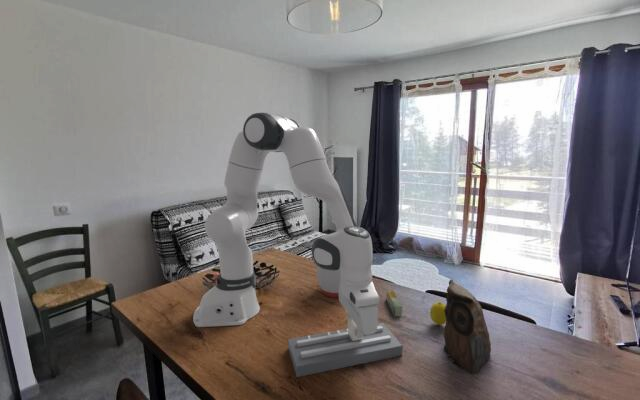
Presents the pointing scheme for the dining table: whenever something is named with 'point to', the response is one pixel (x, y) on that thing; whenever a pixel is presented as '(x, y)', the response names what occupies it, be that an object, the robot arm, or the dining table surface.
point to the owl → (465, 330)
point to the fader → (352, 331)
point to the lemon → (438, 313)
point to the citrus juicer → (328, 281)
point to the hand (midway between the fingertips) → (355, 331)
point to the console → (341, 350)
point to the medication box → (394, 304)
